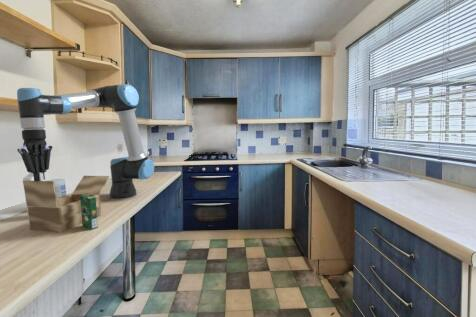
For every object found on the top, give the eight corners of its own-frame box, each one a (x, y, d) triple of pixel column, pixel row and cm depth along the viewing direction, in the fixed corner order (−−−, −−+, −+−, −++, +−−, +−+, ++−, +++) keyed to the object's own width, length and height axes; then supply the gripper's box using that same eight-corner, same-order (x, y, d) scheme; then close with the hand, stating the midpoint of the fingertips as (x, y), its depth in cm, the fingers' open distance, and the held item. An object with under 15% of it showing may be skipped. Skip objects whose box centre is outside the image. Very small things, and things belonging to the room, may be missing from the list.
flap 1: (23, 180, 115) (22, 180, 114) (53, 181, 111) (52, 181, 110) (28, 205, 117) (27, 205, 116) (57, 207, 113) (57, 207, 112)
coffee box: (99, 227, 118) (96, 196, 116) (92, 229, 115) (89, 198, 114) (89, 224, 123) (86, 194, 121) (82, 226, 120) (79, 195, 119)
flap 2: (72, 192, 138) (73, 193, 138) (98, 193, 134) (99, 194, 134) (83, 175, 144) (84, 176, 145) (109, 176, 140) (109, 176, 141)
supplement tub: (68, 208, 149) (65, 180, 147) (46, 211, 144) (42, 182, 142) (67, 204, 157) (64, 177, 155) (46, 207, 152) (43, 180, 150)
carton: (73, 213, 139) (71, 193, 138) (101, 215, 135) (99, 194, 134) (30, 229, 118) (27, 206, 117) (61, 232, 114) (58, 207, 112)
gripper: (41, 128, 118) (47, 185, 121) (9, 129, 106) (17, 192, 109) (55, 128, 116) (62, 185, 119) (24, 129, 104) (32, 193, 107)
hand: (40, 188), depth 114 cm, fingers closed
